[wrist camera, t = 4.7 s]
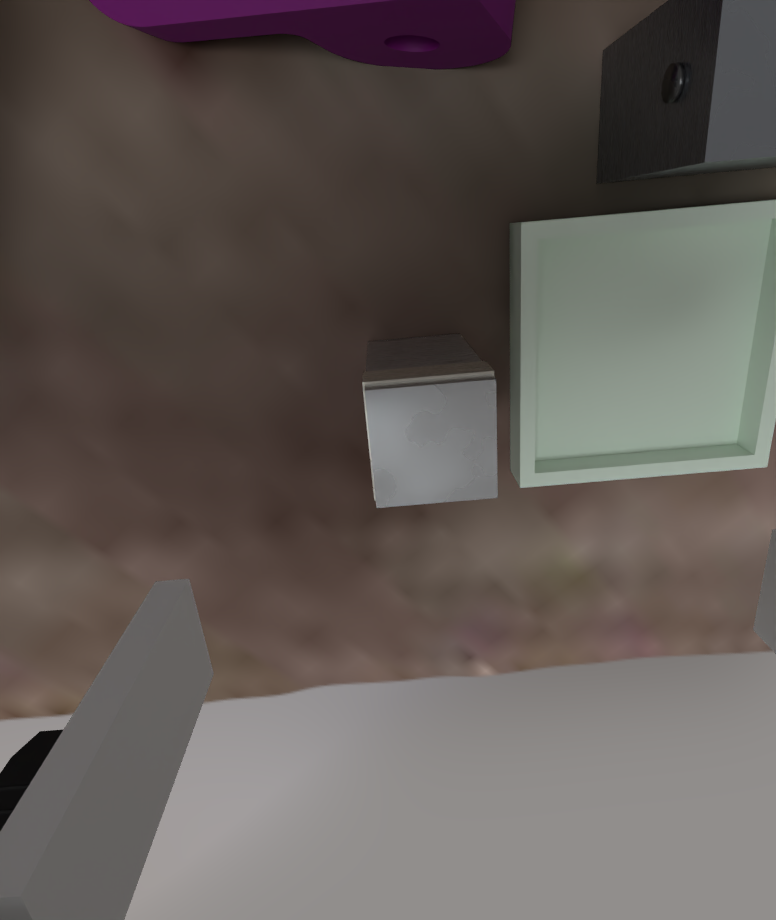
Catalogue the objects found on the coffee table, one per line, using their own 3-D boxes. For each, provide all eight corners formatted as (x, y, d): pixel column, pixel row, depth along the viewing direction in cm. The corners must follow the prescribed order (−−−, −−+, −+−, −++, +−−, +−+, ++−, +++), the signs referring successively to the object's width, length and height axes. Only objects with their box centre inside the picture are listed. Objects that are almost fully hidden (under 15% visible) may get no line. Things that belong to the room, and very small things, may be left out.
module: (374, 430, 33) (374, 510, 24) (365, 339, 31) (361, 388, 22) (464, 422, 33) (500, 499, 24) (461, 331, 31) (498, 376, 22)
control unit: (591, 184, 28) (696, 163, 19) (597, 50, 26) (719, -46, 17) (785, 166, 28) (987, 136, 19) (807, 31, 26) (1045, -77, 17)
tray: (510, 470, 34) (520, 488, 32) (509, 222, 29) (521, 222, 26) (740, 450, 34) (767, 467, 31) (780, 198, 29) (816, 196, 26)
